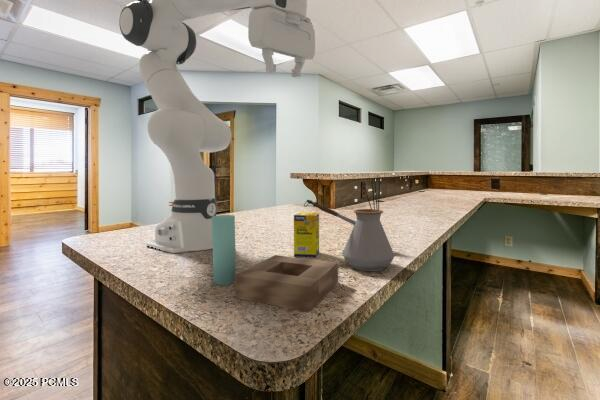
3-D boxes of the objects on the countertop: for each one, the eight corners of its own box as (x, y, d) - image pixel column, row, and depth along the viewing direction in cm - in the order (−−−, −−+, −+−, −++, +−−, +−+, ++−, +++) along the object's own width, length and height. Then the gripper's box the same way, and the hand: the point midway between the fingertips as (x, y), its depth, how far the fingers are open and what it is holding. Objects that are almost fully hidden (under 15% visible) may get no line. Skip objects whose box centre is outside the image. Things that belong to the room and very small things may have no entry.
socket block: (235, 297, 53) (234, 274, 53) (275, 273, 66) (275, 255, 65) (309, 312, 47) (309, 286, 47) (338, 282, 60) (338, 262, 59)
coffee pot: (396, 262, 73) (398, 199, 72) (390, 277, 63) (391, 204, 62) (313, 253, 82) (313, 197, 81) (295, 265, 71) (295, 201, 70)
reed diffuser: (381, 255, 79) (382, 178, 78) (355, 252, 83) (356, 178, 81) (390, 247, 88) (391, 177, 87) (366, 244, 92) (367, 177, 90)
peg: (208, 283, 60) (206, 217, 59) (223, 276, 64) (221, 214, 63) (226, 286, 58) (224, 218, 57) (240, 279, 62) (239, 215, 61)
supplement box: (316, 258, 78) (316, 215, 77) (293, 257, 79) (293, 214, 78) (319, 252, 83) (319, 212, 82) (298, 251, 85) (297, 211, 84)
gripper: (302, 21, 78) (299, 79, 82) (243, -4, 62) (243, 70, 66) (323, 18, 74) (319, 79, 79) (266, -9, 58) (265, 69, 63)
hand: (284, 75), depth 72 cm, fingers open, 8 cm apart
